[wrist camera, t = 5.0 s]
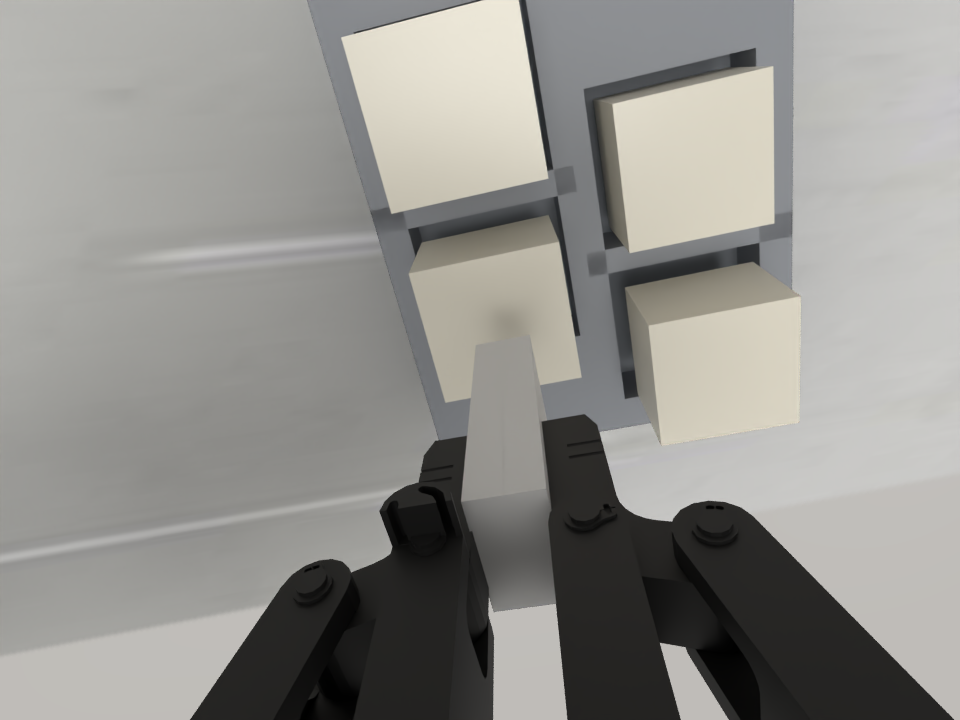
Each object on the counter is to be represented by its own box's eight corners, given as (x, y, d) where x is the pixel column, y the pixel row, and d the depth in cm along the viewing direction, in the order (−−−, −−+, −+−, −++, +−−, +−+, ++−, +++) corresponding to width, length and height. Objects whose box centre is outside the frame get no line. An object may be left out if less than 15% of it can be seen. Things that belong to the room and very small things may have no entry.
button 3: (609, 226, 25) (629, 253, 21) (593, 99, 22) (612, 103, 19) (732, 201, 24) (774, 223, 20) (727, 67, 22) (773, 65, 18)
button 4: (407, 191, 22) (391, 214, 19) (368, 43, 20) (340, 37, 16) (539, 161, 22) (548, 178, 18) (512, 6, 19) (517, -9, 16)
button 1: (637, 394, 26) (661, 445, 22) (624, 287, 24) (648, 325, 20) (755, 372, 25) (799, 422, 22) (752, 261, 23) (800, 296, 19)
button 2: (452, 355, 25) (445, 402, 22) (421, 242, 23) (408, 273, 19) (568, 333, 25) (581, 377, 21) (548, 215, 22) (559, 242, 19)
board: (450, 415, 32) (443, 467, 28) (284, -169, 21) (232, -230, 17) (755, 359, 30) (798, 406, 26) (739, -309, 19) (808, -415, 15)
